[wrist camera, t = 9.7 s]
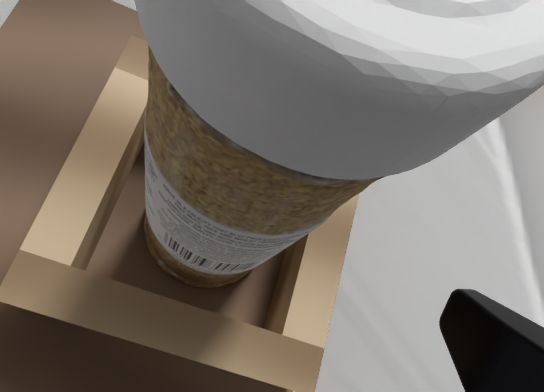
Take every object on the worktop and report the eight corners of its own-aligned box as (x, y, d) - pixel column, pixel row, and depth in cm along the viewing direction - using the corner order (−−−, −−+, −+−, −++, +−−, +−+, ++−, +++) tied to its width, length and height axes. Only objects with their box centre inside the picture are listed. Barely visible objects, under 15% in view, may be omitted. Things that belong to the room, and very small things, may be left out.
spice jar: (286, 213, 17) (657, -113, 5) (223, 315, 15) (558, 220, 3) (189, 147, 17) (312, -381, 4) (113, 243, 15) (-35, -205, 3)
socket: (262, 475, 15) (294, 512, 12) (-195, 352, 13) (-310, 357, 9) (351, 117, 20) (390, 76, 17) (45, -12, 18) (24, -86, 15)
